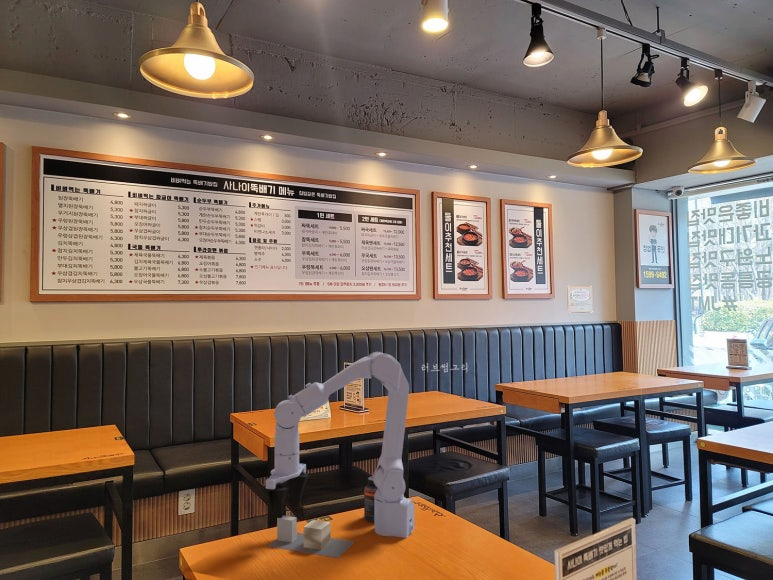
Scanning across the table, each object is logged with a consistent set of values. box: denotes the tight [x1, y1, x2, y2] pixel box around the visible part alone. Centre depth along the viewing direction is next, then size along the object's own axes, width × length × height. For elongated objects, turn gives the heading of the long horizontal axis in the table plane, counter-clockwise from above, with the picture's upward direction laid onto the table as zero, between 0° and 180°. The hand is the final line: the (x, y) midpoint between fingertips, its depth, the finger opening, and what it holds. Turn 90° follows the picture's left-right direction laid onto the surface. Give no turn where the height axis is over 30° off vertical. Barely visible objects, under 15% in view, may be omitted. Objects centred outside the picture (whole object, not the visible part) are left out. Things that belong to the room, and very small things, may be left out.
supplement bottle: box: [363, 475, 377, 524], centre depth 136 cm, size 6×6×11 cm
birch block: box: [303, 519, 332, 550], centre depth 120 cm, size 4×4×4 cm
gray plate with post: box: [266, 515, 356, 559], centre depth 121 cm, size 18×9×6 cm, turn 69°
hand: (286, 511), depth 123 cm, fingers open, 7 cm apart
